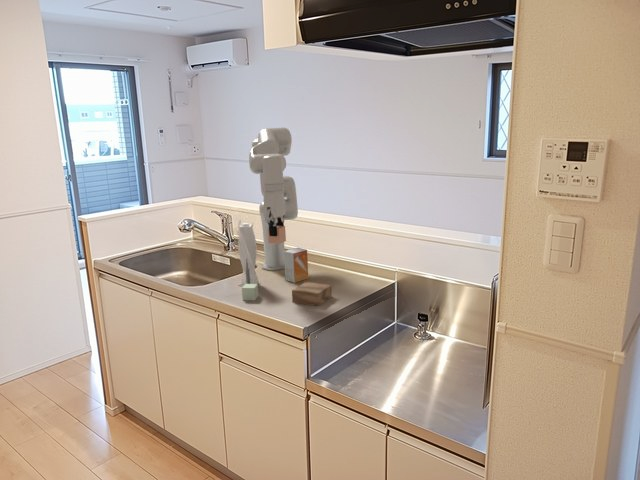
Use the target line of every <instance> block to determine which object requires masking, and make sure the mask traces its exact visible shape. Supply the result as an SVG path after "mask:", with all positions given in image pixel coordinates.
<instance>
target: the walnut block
mask: <svg viewBox="0 0 640 480" xmlns="http://www.w3.org/2000/svg"><path fill="white" fill-rule="evenodd" d="M291 296H292V297H291V299H292V303H297V304H303V305H310V306H316V307H319V306H321V305H322V304H323V303H325V302H326V301H327V300H329V299H330V298H332V296H333V294H332V284H327V283H319V282H311V281H310V282H309V281H305V282H304V283H302V284H300V285H298V286H297V287H295V288H293V289H292V290H291Z"/></svg>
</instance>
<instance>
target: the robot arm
mask: <svg viewBox="0 0 640 480" xmlns="http://www.w3.org/2000/svg"><path fill="white" fill-rule="evenodd" d="M292 139H293V138H292V134H291V132H290V130H289V129H288V128H287V127H268V128H267V127H266V128H264V129H261V130H260V131H259V132H258V134H257V139H254V140H253V141H252V143H251V149H250V150H249V154H248V163H249V169H250V171H251V173H253V174H256V175H259V181H260V182H259V183H260V192H261V195H262V196H263V201H262V202H261V203H260V204H259V208H258V209H259V215H260V220H261V225H262V226H261V227H262V238H263V250H264V251H263V252H264V253H263V254H264V263H262V264H261V268H262V270H265V271H281V270H285V262H284V251H286V247H285V242H283V243H281V244H274V243H269V240H268V228H269V235H270V236H277V226H285V221H288V220H290V221H291V220H295V219H297V218H298V213H299V208H298V198H297V197H298V196H297V189H296V188H297V186H296V183H295V179H294V178H293V177H291V176H290V175H288V176H287V175H286V176H285V175H284V171H285V170H286V167H287V159H286V157H285V156H288V155H289V154H290V153H291V148H292Z"/></svg>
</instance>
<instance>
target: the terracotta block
mask: <svg viewBox="0 0 640 480" xmlns="http://www.w3.org/2000/svg"><path fill="white" fill-rule="evenodd" d="M286 233H287V232H286V225H284V226H277V236H270V235H269V228H268V240H269V243H274V244H281V243H283V242H284V243H285V242H286V241H287V237H286V236H287V235H286Z"/></svg>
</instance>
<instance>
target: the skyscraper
mask: <svg viewBox="0 0 640 480" xmlns="http://www.w3.org/2000/svg"><path fill="white" fill-rule="evenodd" d="M237 227H238V240H237V243H238V245H237V246H238V248H237V249H238V254H239V260H240V264H241V267H242V278H241V283H240V284H238V285H237V286H238V287H241V288H242V287H243V286H244V285H245V284H258V286H261V285H262V283H260V282H259V278H258V275H257V272H256V262H257V261H256V260H257V253H258V251H257V242H256V240H257V239H256V237H255V236H256V235H255V232H254V223H253V222H251V223H249V222H243V223H242V220H241V219H240V218H239V219H238V225H237Z"/></svg>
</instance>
